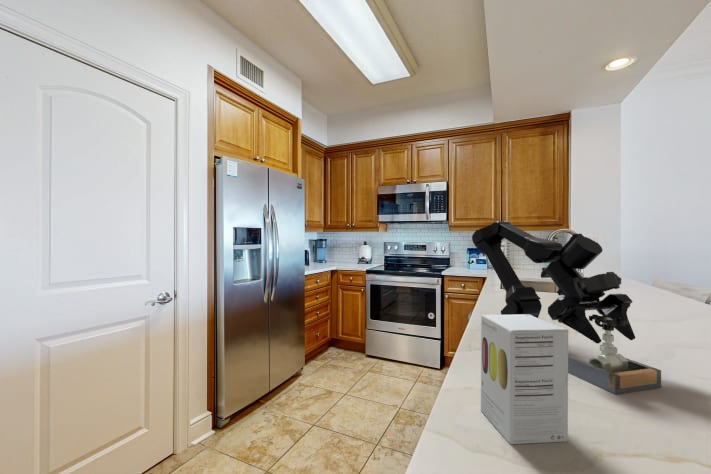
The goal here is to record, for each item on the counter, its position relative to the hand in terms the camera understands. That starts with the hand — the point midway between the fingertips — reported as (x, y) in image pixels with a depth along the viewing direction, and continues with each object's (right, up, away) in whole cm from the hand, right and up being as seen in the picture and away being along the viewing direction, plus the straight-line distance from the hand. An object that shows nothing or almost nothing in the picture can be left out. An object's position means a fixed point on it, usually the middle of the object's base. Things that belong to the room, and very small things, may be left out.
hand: (616, 340), depth 66 cm
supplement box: (-28, -9, -15) cm, 33 cm away
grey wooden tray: (0, -9, +1) cm, 9 cm away
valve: (0, -8, +1) cm, 8 cm away
